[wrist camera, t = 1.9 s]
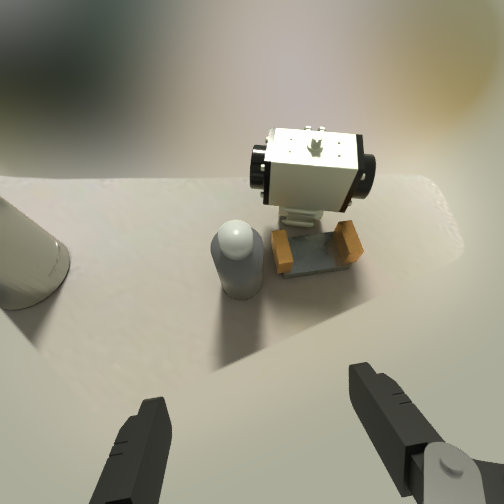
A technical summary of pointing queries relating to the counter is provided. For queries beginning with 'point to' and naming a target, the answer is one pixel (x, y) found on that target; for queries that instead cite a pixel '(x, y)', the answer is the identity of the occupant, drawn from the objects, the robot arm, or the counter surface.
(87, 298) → the counter surface
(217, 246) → the bottle
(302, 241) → the clip bracket
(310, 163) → the pneumatic valve
